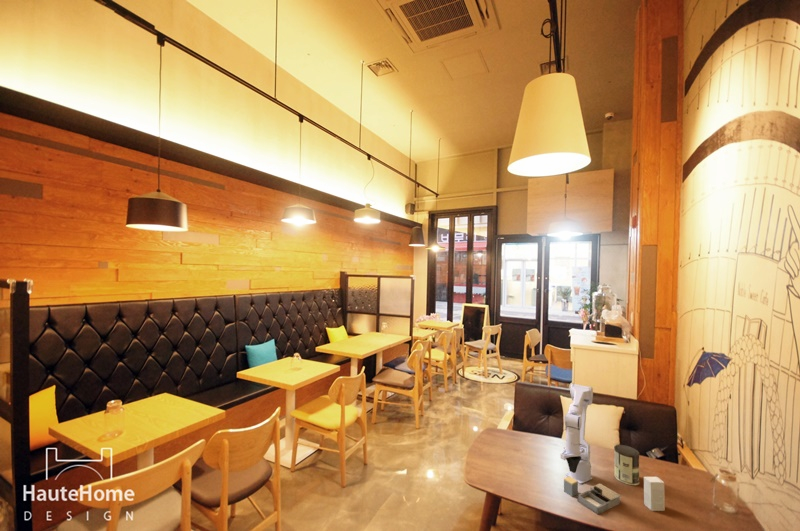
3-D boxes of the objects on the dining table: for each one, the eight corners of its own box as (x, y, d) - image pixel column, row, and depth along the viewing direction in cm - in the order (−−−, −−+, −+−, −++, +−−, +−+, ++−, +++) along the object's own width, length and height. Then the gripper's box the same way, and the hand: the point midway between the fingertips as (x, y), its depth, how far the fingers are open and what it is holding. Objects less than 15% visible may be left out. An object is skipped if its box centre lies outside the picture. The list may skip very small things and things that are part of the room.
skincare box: (656, 504, 145) (656, 476, 145) (665, 511, 140) (664, 482, 141) (643, 504, 144) (643, 476, 145) (651, 511, 140) (651, 482, 140)
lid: (599, 484, 153) (599, 480, 153) (620, 496, 145) (620, 492, 145) (590, 488, 149) (590, 484, 150) (610, 501, 141) (610, 496, 142)
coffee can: (633, 474, 166) (633, 445, 167) (643, 487, 156) (643, 456, 157) (610, 471, 168) (610, 443, 169) (619, 483, 158) (619, 453, 159)
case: (599, 491, 152) (599, 485, 152) (619, 503, 144) (619, 497, 144) (577, 501, 145) (577, 495, 145) (597, 514, 137) (597, 508, 137)
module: (569, 489, 154) (569, 476, 154) (577, 494, 150) (577, 480, 150) (563, 491, 152) (564, 478, 152) (572, 496, 148) (572, 483, 148)
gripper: (574, 434, 158) (574, 463, 158) (554, 440, 151) (554, 470, 151) (589, 440, 152) (588, 470, 151) (568, 448, 145) (568, 479, 144)
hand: (572, 471), depth 151 cm, fingers closed
